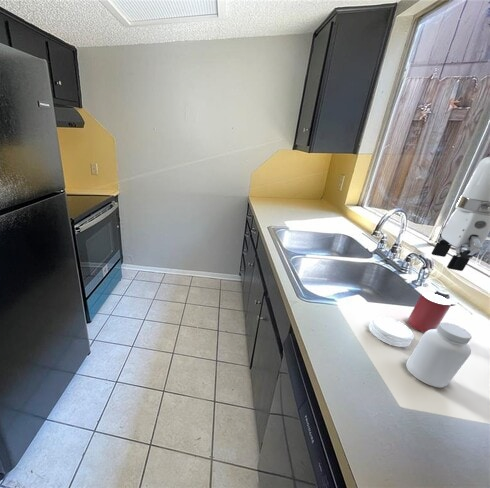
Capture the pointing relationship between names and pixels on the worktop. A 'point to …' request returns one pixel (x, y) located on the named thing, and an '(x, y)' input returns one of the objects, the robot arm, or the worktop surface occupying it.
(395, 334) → the coaster
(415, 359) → the pill bottle
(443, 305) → the can
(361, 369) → the worktop surface
